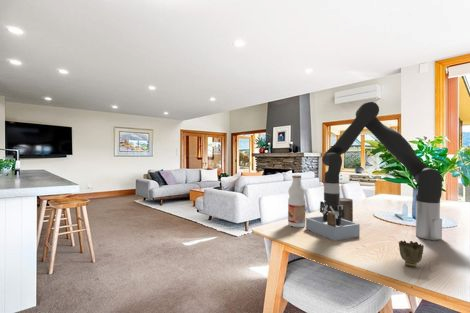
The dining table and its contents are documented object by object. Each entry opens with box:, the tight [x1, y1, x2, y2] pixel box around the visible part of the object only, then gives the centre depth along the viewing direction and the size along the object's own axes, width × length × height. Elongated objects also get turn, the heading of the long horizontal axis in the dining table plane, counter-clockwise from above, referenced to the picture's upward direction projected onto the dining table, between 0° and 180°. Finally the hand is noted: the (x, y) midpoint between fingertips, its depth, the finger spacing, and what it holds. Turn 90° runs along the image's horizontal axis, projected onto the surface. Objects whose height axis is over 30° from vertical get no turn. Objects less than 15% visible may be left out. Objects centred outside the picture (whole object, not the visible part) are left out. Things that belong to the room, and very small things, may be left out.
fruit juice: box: [287, 174, 306, 228], centre depth 144 cm, size 9×9×28 cm
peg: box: [327, 211, 336, 227], centre depth 131 cm, size 4×4×10 cm
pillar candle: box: [336, 197, 354, 222], centre depth 150 cm, size 10×10×15 cm
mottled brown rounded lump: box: [398, 239, 425, 268], centre depth 92 cm, size 8×7×8 cm
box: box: [305, 215, 361, 242], centre depth 131 cm, size 20×16×6 cm
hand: (331, 223), depth 131 cm, fingers open, 8 cm apart
